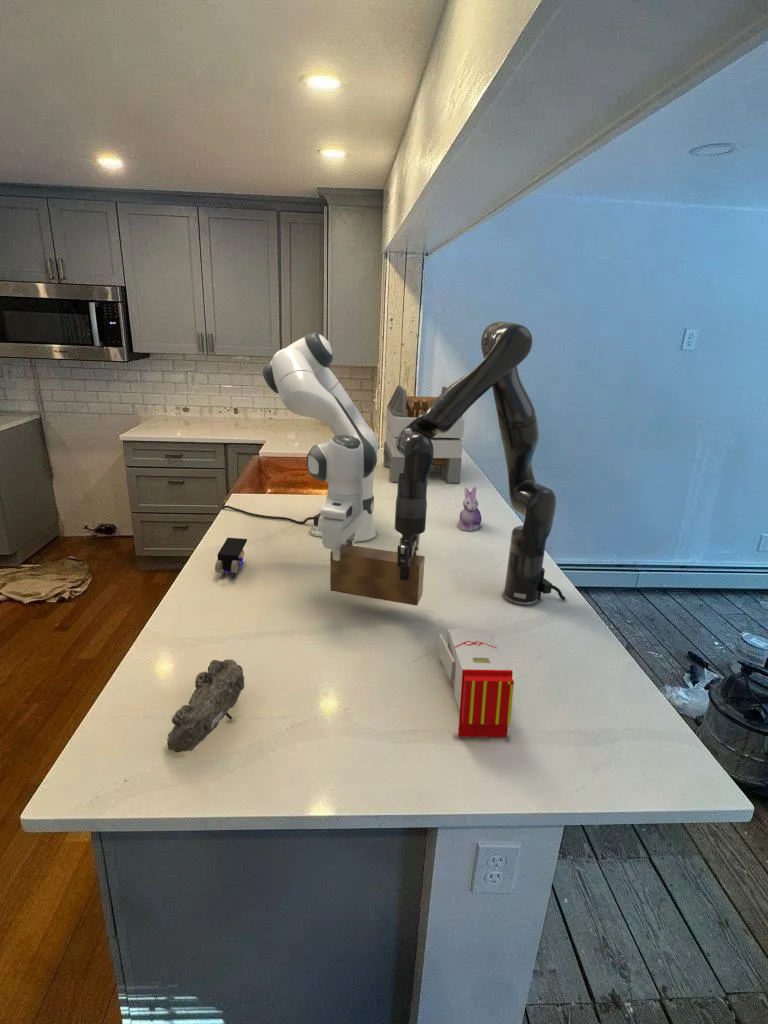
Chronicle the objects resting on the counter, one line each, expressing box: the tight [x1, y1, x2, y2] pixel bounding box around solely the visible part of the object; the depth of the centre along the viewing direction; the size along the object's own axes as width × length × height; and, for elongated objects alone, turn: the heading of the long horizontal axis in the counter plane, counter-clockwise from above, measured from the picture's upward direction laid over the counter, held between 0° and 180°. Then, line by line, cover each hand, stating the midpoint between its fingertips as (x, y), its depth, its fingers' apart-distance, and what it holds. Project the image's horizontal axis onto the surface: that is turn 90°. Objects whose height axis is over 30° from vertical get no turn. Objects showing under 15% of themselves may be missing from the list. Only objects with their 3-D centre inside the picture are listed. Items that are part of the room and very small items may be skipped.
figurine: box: [458, 486, 482, 532], centre depth 206 cm, size 9×10×15 cm
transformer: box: [383, 384, 465, 484], centre depth 268 cm, size 34×33×41 cm
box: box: [329, 543, 426, 606], centre depth 146 cm, size 23×6×11 cm, turn 74°
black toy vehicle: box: [214, 537, 248, 578], centre depth 166 cm, size 7×8×15 cm
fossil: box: [166, 658, 245, 754], centre depth 106 cm, size 22×10×15 cm
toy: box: [437, 628, 515, 738], centre depth 117 cm, size 12×13×30 cm
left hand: (343, 552), depth 146 cm, fingers open, 8 cm apart
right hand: (407, 574), depth 143 cm, fingers closed on box, 6 cm apart
